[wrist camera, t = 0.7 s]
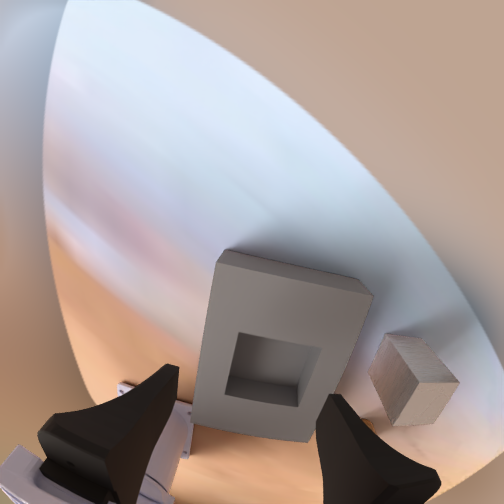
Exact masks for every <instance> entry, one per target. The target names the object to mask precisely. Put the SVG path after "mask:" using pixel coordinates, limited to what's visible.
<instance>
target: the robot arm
mask: <svg viewBox="0 0 504 504" xmlns="http://www.w3.org/2000/svg"><path fill="white" fill-rule="evenodd" d="M178 376H179V367H178V366H174V365H171V364H165V365H164V366H163V367H161V368H160V369H159V370H158V371H157V372H155V373H154V374H153V375H152V376H150V377H149V378H148V379H146V380H145V381H143V382H142V383H141V384H139V385H138V386H136V387H134V386H131V385H128V384H125V383H122V382H119V383H118V385H117V390H118V397H117V398H115V399H113V400H110V401H108V402H105V403H103V404H100V405H97V406H94V407H91V408H87V409H83V410H79V411H73V412H65V413H55V414H54V415H53V416H52V417H50V418H49V420H48V421H47V422H46V423H45V424H44V425H43V427H42V428H41V429H40V430H39V431H38V435H37V436H38V439H39V442H40V444H41V446H42V448H43V450H44V452H45V454H46V456H47V459H46V460H45V461H44V462H43V461H42V460H41V459H40V458H39V457H38V456H36V455H35V454H33V453H32V452H30V451H29V450H27V449H25V448H24V447H23V446H21V445H19V444H18V445H17V446H16V448H15V449H14V450H13V451H12V452H11V454H10V455H9V456H8V457H7V459H6V460H5V461H4V462H3V464H2V465H1V466H0V488H1V489H2V490H3V491H4V492H5V493H6V494H7V496H8V497H9V498H10V499H11V500H12V501H13V502H14V503H15V504H174V501H175V497H173V496H171V495H169V492H170V489H171V485H172V482H173V479H174V476H175V473H176V470H177V467H178V464H179V460H180V458H183V459H188V458H189V455H190V448H191V441H192V434H193V427H194V424H193V423H190V419H191V413H190V412H192V404H188V403H184V402H181V401H177V400H176V398H177V388H178ZM122 390H123V391H122ZM316 441H317V447H318V452H319V458H320V463H321V469H322V476H323V504H424V503H425V502H426V501H427V500H428V499H429V498H431V497H432V496H433V495H434V494H435V493H436V492H437V491H438V490H439V488H440V486H441V480H440V478H439V476H438V474H437V472H436V470H435V469H432V468H429V467H427V466H424V465H422V464H419V463H417V462H415V461H413V460H411V459H409V458H408V457H406V456H404V455H402V454H401V453H399V452H398V451H396V450H395V449H393V448H392V447H390V446H389V445H388V444H387V443H385V442H384V441H383V440H382V439H380V438H379V437H378V436H377V435H376V434H375V433H374V432H373V431H372V430H371V429H370V428H369V427H368V426H367V425H366V424H365V423H364V422H363V421H362V419H361V418H360V417H359V416H358V415H357V414H356V412H355V411H354V410H353V409H352V408H351V406H350V405H349V404H348V403H347V401H346V400H345V399H344V398H343V397H342V396H341V394H329V395H328V397H327V399H326V401H325V403H324V405H323V408H322V410H321V412H320V414H319V416H318V418H317V420H316Z"/></svg>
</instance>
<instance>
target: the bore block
mask: <svg viewBox="0 0 504 504" xmlns="http://www.w3.org/2000/svg"><path fill="white" fill-rule="evenodd" d="M373 297H374V296H373V295H372V294H371V293H370V291H369V290H368V289H367V288H366V287H365V286H364V285H363V284H362V283H361V281H360V280H359V279H355V278H351V277H346V276H342V275H337V274H333V273H328V272H323V271H319V270H314V269H310V268H305V267H301V266H296V265H292V264H287V263H283V262H278V261H274V260H269V259H265V258H260V257H256V256H251V255H247V254H242V253H238V252H233V251H229V250H224V252H223V253H222V254H221V256H220V257H219V259H218V260H217V262H216V266H215V271H214V276H213V282H212V287H211V293H210V298H209V304H208V310H207V316H206V322H205V327H204V333H203V339H202V346H201V352H200V358H199V364H198V371H197V377H196V384H195V391H194V398H193V405H192V412H191V419H190V423H193V424H197V425H201V426H206V427H210V428H214V429H219V430H223V431H228V432H233V433H238V434H244V435H250V436H256V437H262V438H269V439H277V440H285V441H294V442H305V443H308V441H309V440H310V438H311V436H312V434H313V433H314V431H315V429H316V420H317V418H318V416H319V414H320V412H321V410H322V408H323V405H324V403H325V401H326V399H327V397H328V395H329V394H334V392H335V390H336V388H337V385H338V383H339V381H340V379H341V377H342V375H343V372H344V370H345V368H346V366H347V363H348V361H349V359H350V356H351V354H352V352H353V349H354V347H355V344H356V342H357V340H358V337H359V335H360V332H361V329H362V327H363V324H364V322H365V319H366V316H367V314H368V311H369V308H370V305H371V302H372V300H373Z"/></svg>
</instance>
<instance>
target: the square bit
mask: <svg viewBox="0 0 504 504" xmlns="http://www.w3.org/2000/svg"><path fill="white" fill-rule="evenodd" d="M368 374H369V376H370V378H371V380H372V382H373V385H374V387H375V389H376V391H377V393H378V395H379V397H380V400H381V402H382V404H383V406H384V408H385V411H386V413H387V415H388V417H389V420H390V422H391V424H392V426H410V425H425V424H433V423H434V422H435V421H436V419H437V418H438V416H439V415H440V413H441V412H442V410H443V409H444V407H445V406H446V404H447V403H448V401H449V400H450V398H451V396H452V395H453V393H454V391H455V390H456V388H457V386H458V385H459V383H460V382H459V381H458V380H457V379H456V378H455V376H454V375H453V374H452V373H451V372H450V370H449V369H448V368H447V367H446V366H445V365H444V363H443V362H442V361H441V360H440V359H439V358H438V356H437V355H436V354H435V353H434V352H433V351H432V350H431V348H430V347H429V346H428V345H427V344H426V343H425V342H424V340H423V339H422V338H415V337H408V336H400V335H393V334H386V333H385V335H384V337H383V340H382V342H381V344H380V347H379V349H378V351H377V353H376V356H375V358H374V360H373V362H372V364H371V366H370V368H369V371H368Z"/></svg>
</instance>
